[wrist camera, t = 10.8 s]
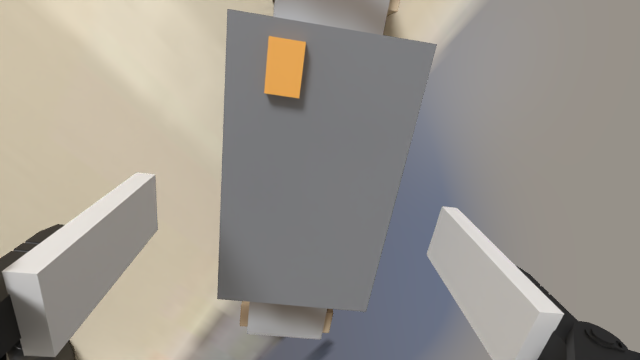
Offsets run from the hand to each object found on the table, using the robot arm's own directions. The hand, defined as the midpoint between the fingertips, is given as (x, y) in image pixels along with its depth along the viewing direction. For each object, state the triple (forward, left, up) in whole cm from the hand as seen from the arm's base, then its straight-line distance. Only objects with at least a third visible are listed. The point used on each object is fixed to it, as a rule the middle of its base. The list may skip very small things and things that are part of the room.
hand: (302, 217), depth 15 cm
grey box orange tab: (0, 0, -14) cm, 14 cm away
